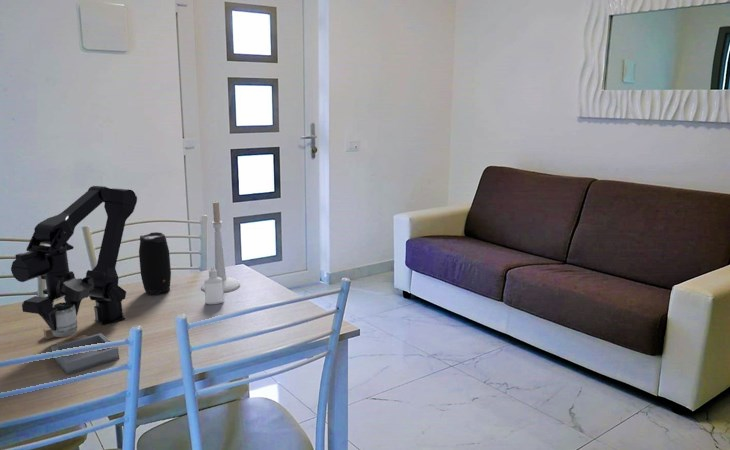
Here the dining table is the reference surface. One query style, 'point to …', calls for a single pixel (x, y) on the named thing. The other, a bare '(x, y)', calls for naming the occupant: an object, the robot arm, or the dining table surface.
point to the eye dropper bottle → (213, 288)
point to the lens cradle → (49, 334)
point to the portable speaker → (154, 263)
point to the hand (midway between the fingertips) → (64, 325)
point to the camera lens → (65, 320)
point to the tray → (85, 354)
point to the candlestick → (221, 254)
